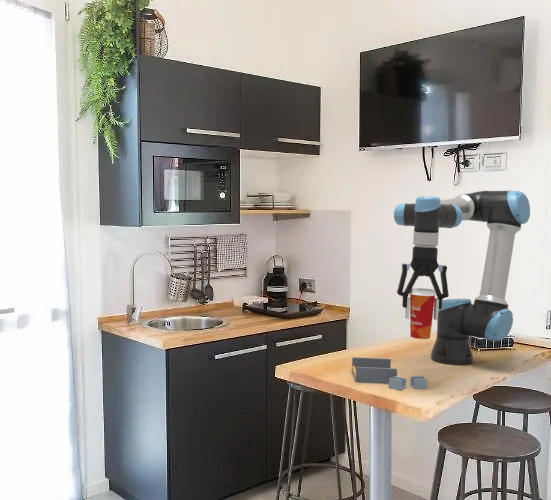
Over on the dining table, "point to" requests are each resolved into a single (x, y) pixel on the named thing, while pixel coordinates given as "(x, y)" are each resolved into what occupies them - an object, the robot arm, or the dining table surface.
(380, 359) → the end holder
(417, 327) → the coffee cup
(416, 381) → the clip
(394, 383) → the clip
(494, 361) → the dining table surface
